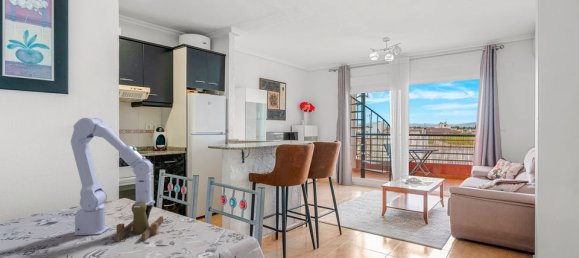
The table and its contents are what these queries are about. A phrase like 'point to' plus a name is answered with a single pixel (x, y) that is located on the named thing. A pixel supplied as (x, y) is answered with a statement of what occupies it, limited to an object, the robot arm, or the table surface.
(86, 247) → the table surface
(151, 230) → the guide channel
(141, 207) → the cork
